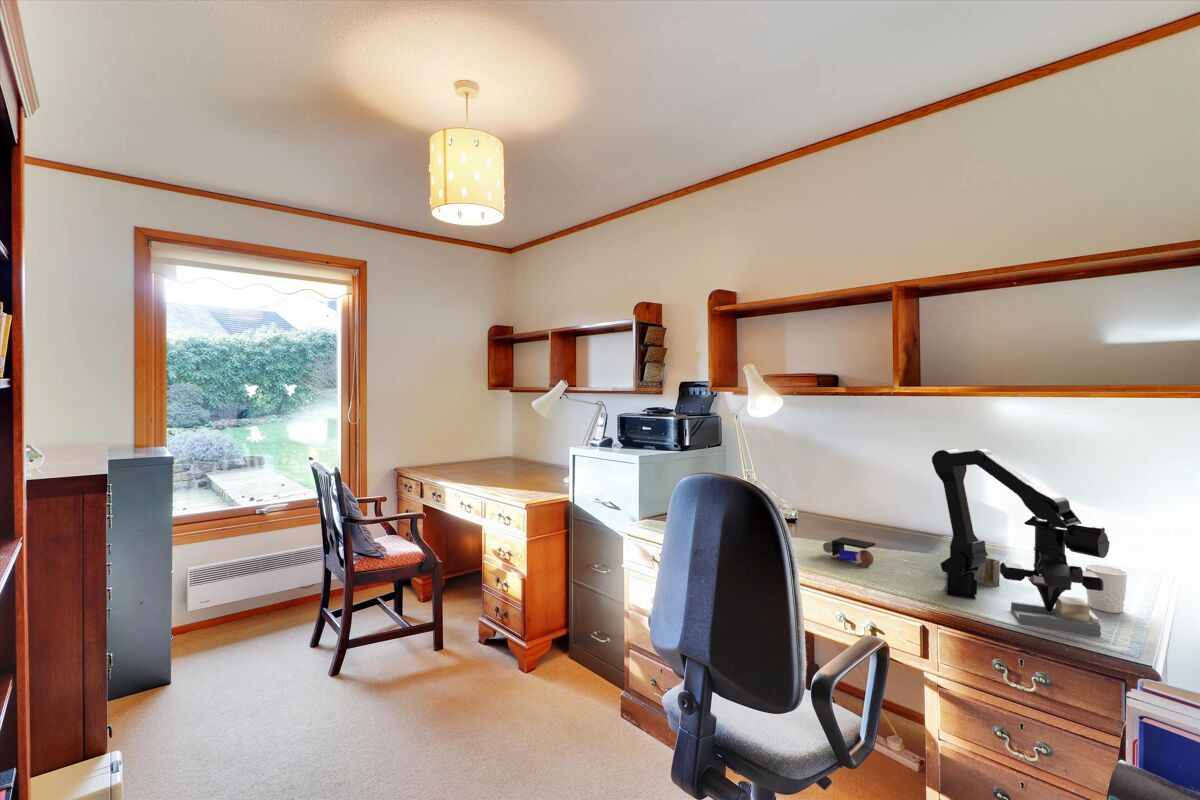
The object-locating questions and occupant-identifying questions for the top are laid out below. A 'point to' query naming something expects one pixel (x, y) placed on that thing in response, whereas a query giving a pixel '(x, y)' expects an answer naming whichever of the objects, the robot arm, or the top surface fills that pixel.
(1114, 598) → the white cup
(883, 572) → the top surface
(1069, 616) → the birch block
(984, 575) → the brown piece
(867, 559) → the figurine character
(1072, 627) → the chute
